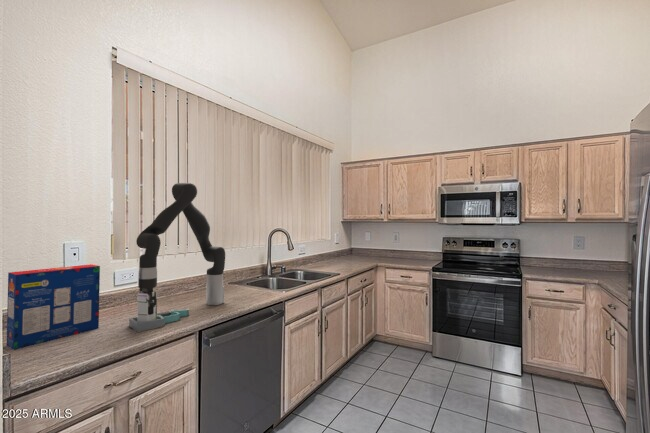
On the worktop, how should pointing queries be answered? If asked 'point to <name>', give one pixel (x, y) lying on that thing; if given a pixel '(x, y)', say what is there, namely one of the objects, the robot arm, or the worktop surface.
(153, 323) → the holder
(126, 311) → the worktop surface
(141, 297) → the syrup box
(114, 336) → the worktop surface
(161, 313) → the tall charcoal prism
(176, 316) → the clip
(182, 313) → the clip
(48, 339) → the blue toy box
